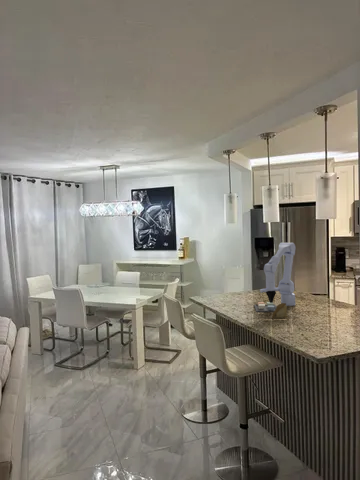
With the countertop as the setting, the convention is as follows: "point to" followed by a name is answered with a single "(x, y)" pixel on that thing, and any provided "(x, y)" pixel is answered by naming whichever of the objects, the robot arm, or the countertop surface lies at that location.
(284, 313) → the rock
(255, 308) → the dark grey tray
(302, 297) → the countertop surface
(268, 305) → the key sage
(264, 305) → the key cream
